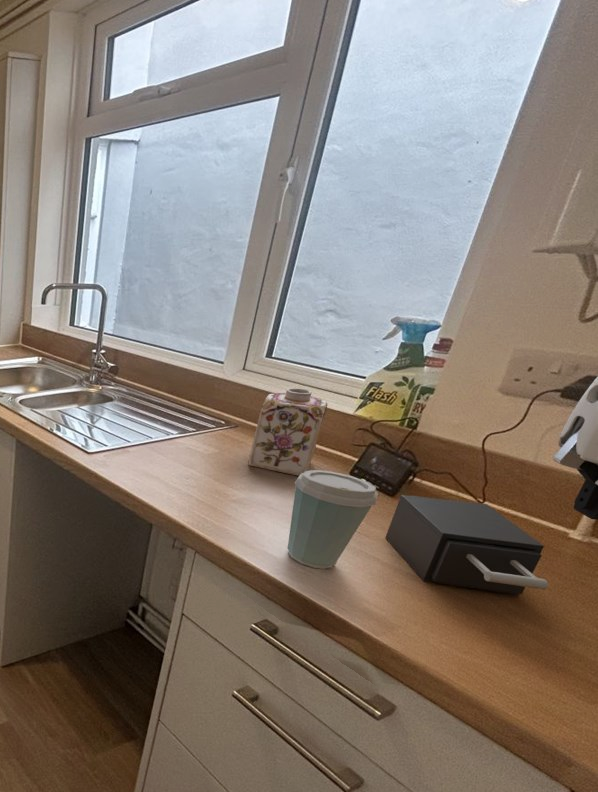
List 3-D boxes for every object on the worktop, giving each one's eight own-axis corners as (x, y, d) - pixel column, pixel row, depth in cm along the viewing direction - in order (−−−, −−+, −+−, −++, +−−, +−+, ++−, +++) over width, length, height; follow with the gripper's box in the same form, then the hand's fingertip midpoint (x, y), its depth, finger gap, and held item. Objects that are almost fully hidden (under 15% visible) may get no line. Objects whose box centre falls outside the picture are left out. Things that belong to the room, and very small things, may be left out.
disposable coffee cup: (272, 536, 95) (294, 460, 89) (346, 551, 90) (373, 471, 84) (277, 567, 86) (302, 484, 80) (359, 584, 81) (391, 498, 75)
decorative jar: (311, 462, 125) (333, 388, 118) (306, 478, 117) (329, 400, 110) (254, 451, 132) (271, 381, 125) (245, 465, 124) (263, 391, 117)
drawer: (551, 621, 72) (575, 579, 69) (456, 605, 75) (474, 565, 72) (472, 550, 88) (488, 514, 85) (396, 540, 91) (410, 505, 89)
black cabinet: (519, 595, 78) (544, 546, 75) (423, 580, 82) (443, 533, 79) (467, 548, 90) (487, 504, 87) (385, 537, 94) (401, 494, 90)
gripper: (607, 364, 54) (530, 520, 61) (820, 374, 50) (711, 541, 57) (554, 351, 61) (491, 493, 68) (738, 358, 56) (650, 509, 63)
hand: (591, 514), depth 62 cm, fingers closed
